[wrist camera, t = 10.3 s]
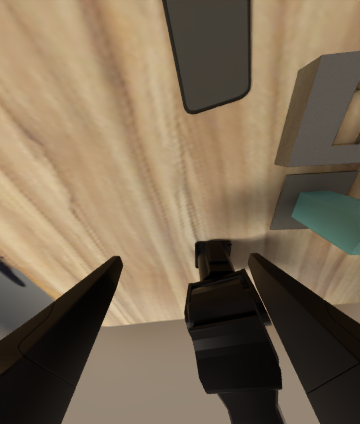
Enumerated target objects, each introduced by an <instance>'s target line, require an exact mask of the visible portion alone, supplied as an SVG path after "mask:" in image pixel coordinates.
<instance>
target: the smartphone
mask: <svg viewBox="0 0 360 424" xmlns="http://www.w3.org/2000/svg"><path fill="white" fill-rule="evenodd" d="M162 2H163V7H164V12H165V17H166V22H167V26H168V31H169V36H170V41H171V46H172V51H173V56H174V61H175V66H176V71H177V76H178V81H179V86H180V91H181V96H182V101H183V106H184V109H185V111H186V112H187V113H189V114H197V113H200V112H203V111H206V110H209V109H212V108H215V107H217V106H222V105H225V104H228V103H231V102H234V101H237V100H240V99H241V98H243V97H244V96H245V95H246V94H247V93H248V91H249V88H250V0H162Z"/></svg>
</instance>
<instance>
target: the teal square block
mask: <svg viewBox="0 0 360 424" xmlns="http://www.w3.org/2000/svg"><path fill="white" fill-rule="evenodd" d="M291 217H293V218H294V219H296V220H297V221H299V222H300V223H302V224H303V225H305V226H306V227H308V228H309V229H311V230H313V231H314V232H316V233H317V234H319V235H320V236H322V237H323V238H325V239H326V240H328V241H329V242H331V243H332V244H334V245H335V246H337V247H339V248H340V249H342V250H343V251H345V252H346V253H348V254H349V255H360V200H359V199H355V198H352V197H349V196H346V195H342V194H339V193H336V192H332V191H317V192H300V195H299V198H298V200H297V203H296V206H295V208H294V211H293V213H292V216H291Z"/></svg>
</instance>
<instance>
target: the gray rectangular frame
mask: <svg viewBox="0 0 360 424" xmlns="http://www.w3.org/2000/svg"><path fill="white" fill-rule="evenodd" d="M355 89H360V51H355V52H346V53H336V54H327V55H322V56H320V57H319V58H317V59H315V60H314V61H312V62H311V63H309V64H308V65H306V66H305V67H303V68H302V69H300V70H299V71H298V75H297V78H296V82H295V86H294V90H293V94H292V98H291V102H290V106H289V109H288V113H287V117H286V121H285V125H284V129H283V133H282V136H281V140H280V144H279V148H278V152H277V156H276V160H275V165H280V166H285V167H298V166H314V165H330V164H346V163H360V134H359V136H358V138H357V140H356V142H355V143H351V144H337V145H332V143H333V141H334V138H335V136H336V134H337V131H338V129H339V127H340V124H341V122H342V120H343V117H344V115H345V113H346V110H347V108H348V106H349V103H350V101H351V99H352V96H353V94H354V92H355Z"/></svg>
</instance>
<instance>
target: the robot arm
mask: <svg viewBox="0 0 360 424" xmlns="http://www.w3.org/2000/svg"><path fill="white" fill-rule="evenodd" d="M231 245H232V244H231V242H230V241H216V242H196V243H195V267H196V268H199V274H200V281H199V282H195V283H189V285H188V291H187V297H186V304H185V311H184V315H185V322H186V325H187V329H188V331H189V334H190V336H191V338H192V341H193V345H194V350H195V355H196V360H197V368H198V374H199V379H200V381H201V383H202V385H203V388H204V389H205V392H206V393H207V394H218V396H219V397H220V399H221V400H222V402H223V403H224V405H225V406H226V408H227V410H228V413H229V416H230V420H231V424H286V422H285V419H284V417H283V414H282V411H281V409H280V406H279V404H278V390H281V389H282V378H281V377H282V376H281V369H280V367H279V359H278V356H277V353H276V351H275V348H274V346H273V344H272V341H271V339H270V337H269V334H268V332H267V330H266V328H265V326H271V325H272V324H271V321H270V318H271V320H272V322H273V324H274V326H275V328H276V331H277V333H278V335H279V337H280V339H281V341H282V343H283V345H284V348H285V350H286V352H287V354H288V356H289V358H290V360H291V363H292V365H293V367H294V369H295V371H296V373H297V375H298V377H299V380H300V382H301V384H302V386H303V388H304V390H305V392H306V393H307V397H308V399H309V401H310V403H311V405H312V407H313V409H314V412H315V414H316V416H317V418H318V420H319V422H320V424H360V324H359V323H358V322H356V321H355V320H353V319H352V318H350V317H349V316H347V315H346V314H344V313H343V312H341V311H340V310H338V309H337V308H336V307H334V306H333V305H331V304H330V303H328V302H327V301H326V300H323V298H321V297H320V296H318V295H317V294H315V293H314V292H313V291H311V290H310V289H308V288H307V287H305V286H304V285H303V284H301V283H300V282H298V281H297V280H295V279H294V278H293V277H291V276H290V275H288V274H287V273H285V272H284V271H283V270H281V269H280V268H278V267H277V266H275V265H274V264H273V263H271V262H270V261H268V260H267V259H265V258H264V257H263V256H261V255H260V254H258V253H251V254H250V256H249V260H248V265H249V268H250V271H251V274H252V277H253V279H254V282H255V285H256V288H257V290H258V292H259V294H260V297H261V299H262V301H263V303H264V305H265V307H266V309H267V311H268V313H269V315H270V318H269V316H268V314H267V311H266V309H265V307H264V305H263V303H262V301H261V299H260V297H259V295H258V293H257V291H256V289H255V287H254V285H253V283H252V281H251V280H250V278H249V276H248V274H247V272H246V270H245V269H241V270H240V271H236V272H235V270H234V267H233V265H232V262H231V260H230V251H231ZM122 268H123V263H122V260H121V258H120V256H113V257H111V258H110V259H109V260H108V261H106V262H105V263H104V264H102V265H101V266H100V267H98V268H97V269H96V270H95V271H93V272H92V273H91V274H89V275H88V276H87V277H85V278H84V279H83V280H81V281H80V282H79V283H78V284H76V285H75V286H74V287H72V288H71V289H70V290H68V291H67V292H66V293H65V294H63V295H62V296H61V297H59V298H58V299H57V300H56V301H54V302H53V303H51V304H50V305H49V306H47V307H46V308H45V309H44V310H42V311H41V312H39V313H38V314H37V315H35V316H34V317H33V318H31V319H30V320H29V321H27V322H26V323H24V324H23V325H22V326H21V327H19V328H17V329H16V330H14V331H13V332H12V333H10V334H9V335H7V336H6V337H4V338H3V339H2V340H0V424H61V423H62V420H63V418H64V415H65V413H66V411H67V408H68V406H69V403H70V401H71V398H72V396H73V393H74V391H75V389H76V386H77V383H78V381H79V379H80V376H81V374H82V371H83V369H84V366H85V364H86V362H87V359H88V357H89V354H90V352H91V349H92V347H93V344H94V342H95V339H96V337H97V335H98V332H99V330H100V327H101V325H102V322H103V320H104V318H105V315H106V313H107V310H108V308H109V305H110V303H111V301H112V298H113V296H114V293H115V291H116V288H117V285H118V281H119V278H120V275H121V271H122Z"/></svg>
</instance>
